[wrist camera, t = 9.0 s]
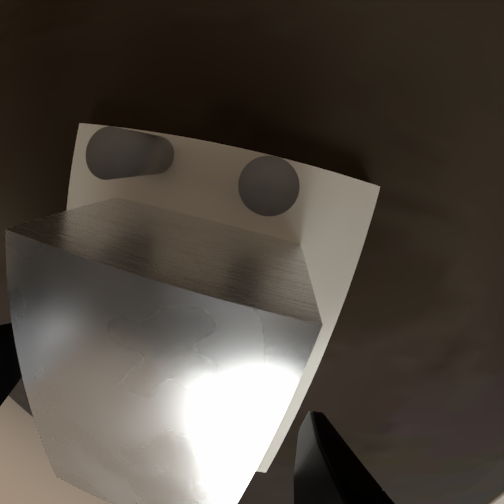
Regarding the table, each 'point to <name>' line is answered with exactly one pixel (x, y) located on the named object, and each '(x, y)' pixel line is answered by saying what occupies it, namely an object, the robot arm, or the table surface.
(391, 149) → the table surface
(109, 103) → the table surface
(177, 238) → the block
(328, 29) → the table surface
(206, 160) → the pin tray
